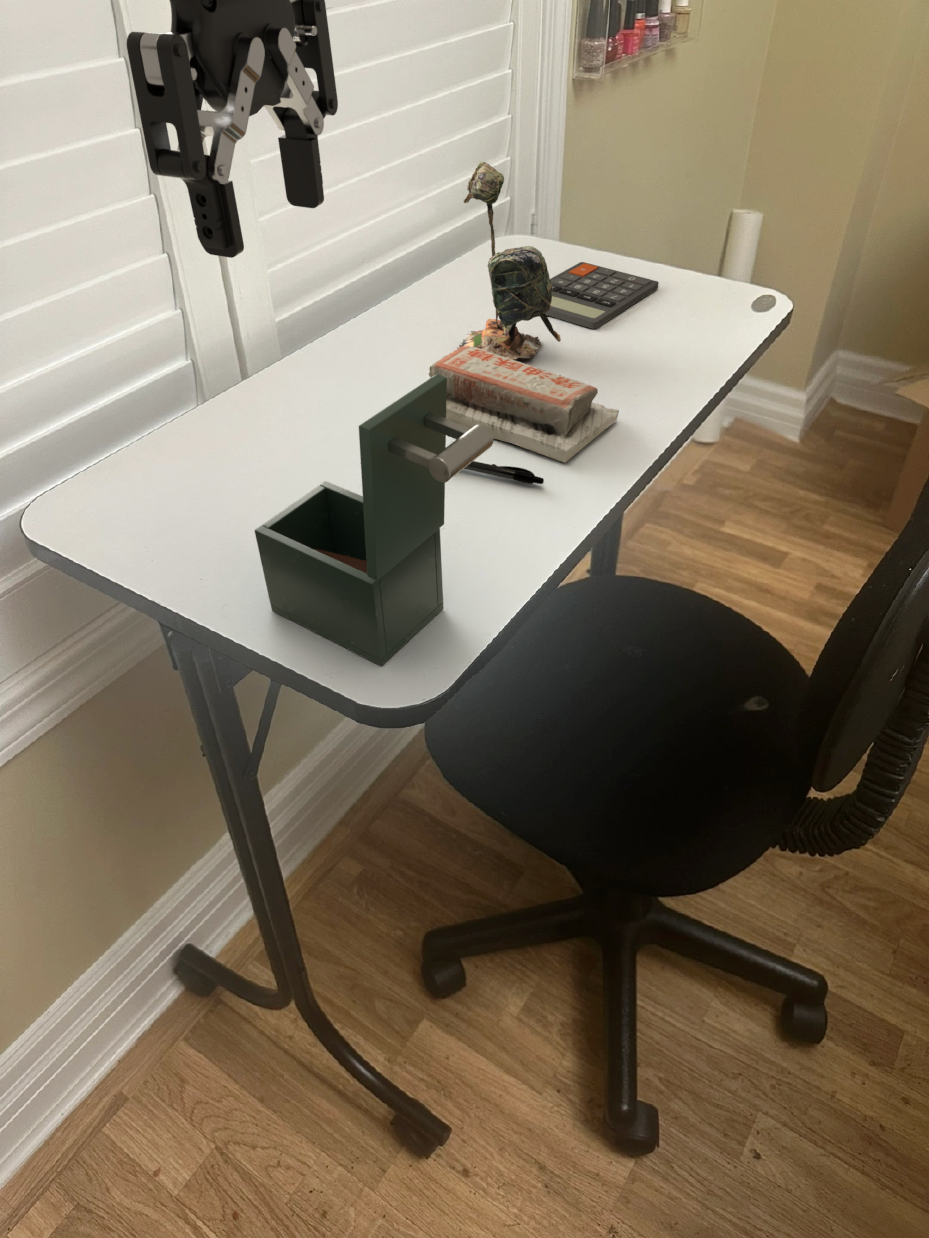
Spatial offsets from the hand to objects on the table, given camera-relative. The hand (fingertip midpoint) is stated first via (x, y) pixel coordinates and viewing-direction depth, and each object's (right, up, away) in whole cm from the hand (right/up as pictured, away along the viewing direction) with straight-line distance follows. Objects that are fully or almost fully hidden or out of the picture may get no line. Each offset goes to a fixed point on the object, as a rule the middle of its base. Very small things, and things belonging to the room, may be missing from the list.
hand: (268, 228), depth 52 cm
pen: (+12, -9, +32) cm, 35 cm away
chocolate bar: (+3, -21, +18) cm, 27 cm away
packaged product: (+16, -2, +39) cm, 43 cm away
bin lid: (+7, -13, +6) cm, 16 cm away
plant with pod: (+16, +8, +50) cm, 53 cm away
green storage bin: (+3, -22, +18) cm, 28 cm away
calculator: (+26, +18, +61) cm, 69 cm away
